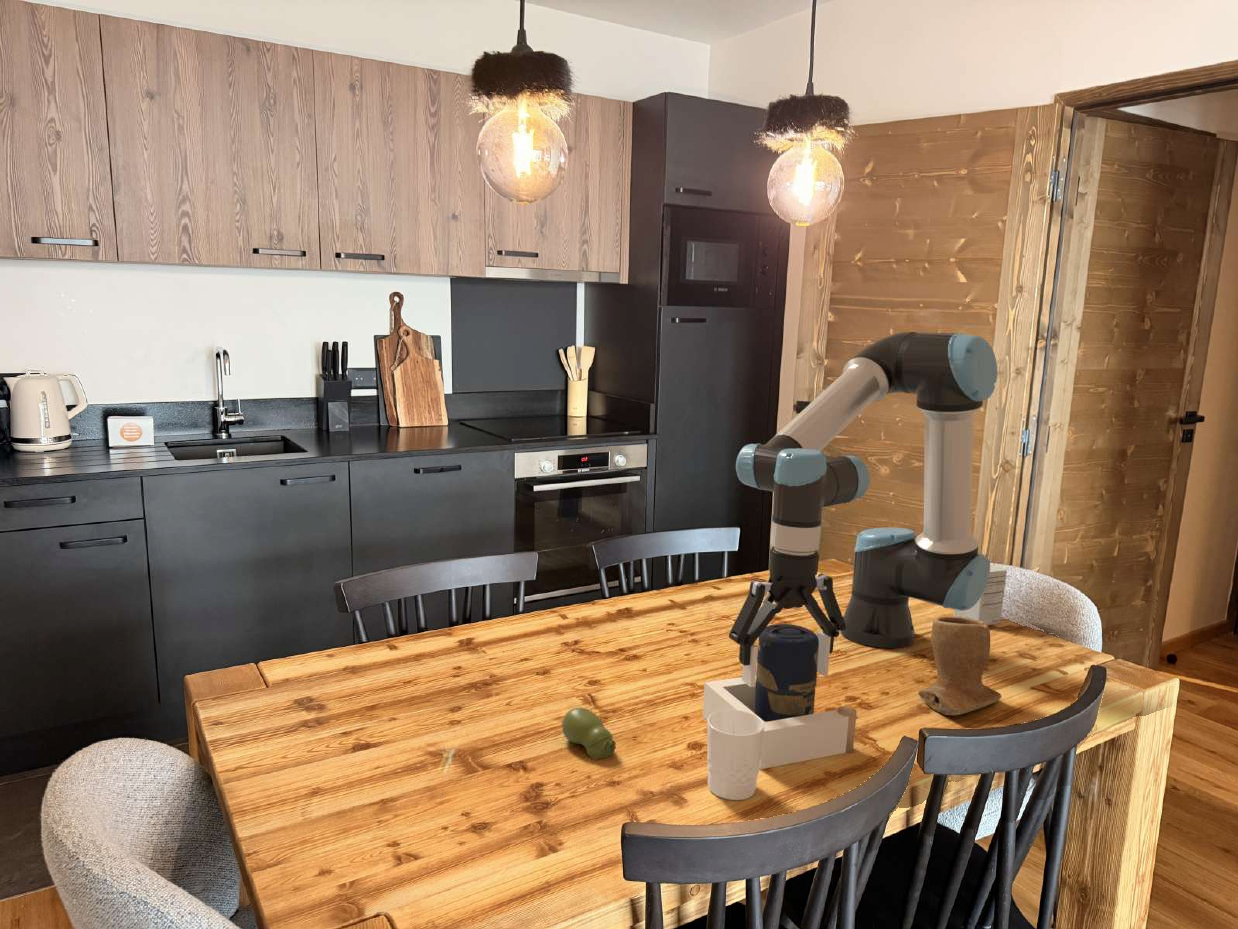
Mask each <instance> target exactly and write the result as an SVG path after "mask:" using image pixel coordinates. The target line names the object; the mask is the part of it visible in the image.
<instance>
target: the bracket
mask: <svg viewBox="0 0 1238 929" xmlns="http://www.w3.org/2000/svg"><path fill="white" fill-rule="evenodd" d="M755 684H756V677H755ZM702 700H703V701H702V702H703V703H702V704H703V706H702V717H703V718H704V719H705V720H706V721H707V722H708V717H709V716H710V715H711V714H712V713H714V712H716V711H720V710H741V711H746V712H749V713H752V714H754V715H756V714H755V687H750V686H749V685H747V684H746V683H745V682H743V681H742V676H739V677H734V678H733V677H732V678H726V679H725V678H724V679H718V680H712V681H707V682H704V686H703V699H702ZM756 716H757V715H756ZM759 718H760V717H759ZM760 719H761V718H760ZM762 721H763V720H762ZM763 722H764V721H763ZM856 722H857V709H856V708H854V707H852V706H848V705H841V706H838V708H837V709H834V710H828V711H824V712H823V711H822V712H817V713H814V714H810V715H804V716H798V717H792V718H786V719H781V720H775V721H769V722H764V734H763V742H762V751H761V758H760V765H759V770H764V769H769V768H774V767H779V766H785V765H791V764H795V763H796V764H797V763H800V762H805V761H810V760H811V761H812V760H816V759H821V758H826V757H832V756H836V755H842V754H849V753H850V754H851V753H852V752H853V751H854V744H855V743H854V742H855V732H856V725H857V724H856Z"/></svg>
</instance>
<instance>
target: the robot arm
mask: <svg viewBox="0 0 1238 929" xmlns="http://www.w3.org/2000/svg"><path fill="white" fill-rule="evenodd" d="M997 365H998V363H997V358H996V355H995V351H994V350H993V347H992V346H991V345H990V343H989V342H988V341H987V340H986V339H985V338H984V337H981V336H978V335H973V334H972V335H971V334H965V333H961V332H960V333H954V332H953V333H950V332H916V331H905V332H898V333H895V334H892V335H889V336H885V337H883V338H881V339H880V340H877V341H874V343H872V344H870V345H869V346H866V347H865V348H864V349H861V350H860V351H859V352H857V353H856V354H855V355H854V356H853V357H852V358H851V359H849V360H848V362H846V363H845V365H844V367H843V369H842V373H841V375H840V376H839V377H837V379H835V380H834V381H833V382H832V383H830V385H828V387H827V388H826V389H824V390H823V391H822V392H821V393H820V394H819V395H818V396H817V397H816V398H815V399H813V400H812V401H811V403H808V405H807V406H806V407H805V408H804V409H802V410H801V411H800V412H799V413H798V414H797V415H796V416H795V417H794V418H793V419H792V420H790V421H789V422H788V423H787V424H786V425H785V426H784V427H783V428H782V429H781V430H779V431H778V433H776V434H775V435H774V436H773V437H772V438H771V439H770V440H769V441H767V443H765V444H762V443H750V444H746V445H744V446H743V447H742V448H741V450H740V451H739V453H738V454H737V457H736V461H735V471H736V475H737V478H738V480H739V481H740V482H741V483H742V484H743V485H746V486H749V487H751V488H755V489H758V490H760V491H762V490H763V491H769V492H773V504H772V505H773V509H772V519H771V532H770V545H771V546H772V547H771V548H770V550H769V559H768V571H769V577H768V581H767V582H761V581H758V580H757V579H752V580H751V581H750V585H749V589H748V590H749V592H748V594H747V596H746V599H745V600H744V603H743V605H742V607H741V609H740V611H739V613H738V615H737V618H736V619H735V621H734V623H733V625H732V627H731V630H730V632H729V634H728V638H729V639H730V640H732V641H733V642H734V643H736V644H737V645H739V651H738V652H739V656H738V660H739V663H740V664H741V665H742V673H741V677H742V681H743V682H745V683H746V684H747V685H749V686H750V687H755V677H756V672H757V656H758V645H756V644H755V643H756V641H757V640H759V636H760V635H761V633H762V632H763V631H764V629H765V628H766V627H767V626H769V624H770V623H771V621H772V620H773V619H774V618H775V616H776V615H777V614H779V613H781V612H782V610H783V609H785V610H790V609H792V608H798V609H799V608H803V606H804V607H805V610H807V612H808V613H809V614H810V615H811V617H812V619H813V620H814V621H815V622H816V624H817V625H818V626H819V628H820V629H821V630H822V631H821V630H820V631H819V630H818V631H816V635H817V637H818V640H819V650H818V665H817V673H819V674H820V675H822V676H824V677H825V676H828V675H829V674H828V673H829V664H830V654H832V653H833V651H834V641H835V638H838V637H839V636H840V634H841V635H842V636H843V637H844V638H846V639H848V640H850V641H852V642H854V643H856V644H857V643H858V644H860V645H863V646H868V647H874V648H881V649H882V648H883V649H885V648H886V649H897V648H903V647H907V646H910V645H912V644H913V642H914V639H915V628H914V625H913V618H912V614H911V610H910V605H909V599H910V598H912V599H915V600H918V601H921V602H925V603H929V604H932V605H937V606H940V607H943V608H944V609H952V610H954V609H956V610H960V611H965V610H968V609H970V608H972V607H973V606H974V605H975V604H976V603H977V602H978V600H979V599H980V597H981V596H982V594H983V592H984V590H985V587H986V585H987V582H988V578H989V573H990V565H991V562H990V559H989V557H987V555H985V554H983V553H980V554H979V540H978V539H977V538H976V537H975V536H974V535H973V534H972V533H971V527H972V526H971V522H972V520H971V519H972V518H971V517H972V516H971V515H972V490H973V489H972V487H973V486H972V485H973V484H972V483H973V477H972V476H973V449H974V448H973V445H974V421H975V420H974V416H975V415H976V413H978V412H979V411H980V410H981V409H982V408H983V407H984V406H983V405H984V404H983V403H984V401H987V400H988V399H989V398H991V396H992V395H993V393H994V391H995V388H996V386H995V384H996V383H997V378H998V366H997ZM895 393H903V394H904V393H905V394H912V395H916V409H917V410H919V411H920V412H921V413H922V414H924V452H923V453H924V456H923V457H924V464H923V466H924V467H923V470H924V471H923V477H924V478H923V531H922V532H921V533H920V534H918V535H917V536H916V532H915V531H914V530H912V529H909V528H904V527H903V528H901V527H875V528H867V529H864V530H862V531H860V532H859V533H858V534H857V537H856V543H855V548H854V549H853V552H854V559H853V570H852V572H853V574H852V586H851V596H850V599H849V601H848V604H847V606H846V609H845V611H844V614H842V611H841V609H840V606H839V603H838V601H837V598H836V597H837V596H836V594H835V592H834V580H833V579H834V578H832V577H830V576H829V575H827V574H824V573H823V572H822V573H819V574H818V570H819V560H820V554H819V552H818V551H819V549H820V547H821V535H822V516H823V508H825V507H826V508H827V507H830V506H835V505H841V504H847V503H848V504H849V503H850V502H853V501H855V500H858V499H860V498H862V497H863V496H864V495H865V494H866V493H867V491H868V489H869V487H870V482H871V476H870V471H869V468H868V466H867V464H866V463H865V462H864V461H863V460H862V459H860V458H859V457H857V456H854V455H843V454H841V455H837V456H830V455H825V453H824V452H822V451H823V450H824V448H826V447H827V446H828V445H829V444H830V443H831V442H832V441H833V440H834V439H835V438H836V437H837V436H838V435H839V434H840V433H841V432H842V431H843V430H844V429H845V428H847V426H849V425H850V424H851V422H853V420H855V419H856V418H857V417H858V416H859V415H860V414H861V413H862V412H863V411H864V410H865V409H866V408H867V407H868V406H869V405H870V404H871V403H877V402H880V401H881V400H883V399H884V398H885V397H886V396H887V395H890V394H895ZM816 589H818V593H819V596H820V599H821V601H822V604H823V606H824V609H825V612H826V614H825V612H824V611H823V610H822V608H821V607H820V605H819V603H818V601H817V600H816V598H815V596H813V593H814V592H815V590H816ZM774 602H775V603H774Z"/></svg>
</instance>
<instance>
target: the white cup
mask: <svg viewBox="0 0 1238 929" xmlns="http://www.w3.org/2000/svg"><path fill="white" fill-rule="evenodd" d="M706 730H707V736H706V738H707V741H706V742H707V745H706V746H707V747H706V753H707V754H706V757H707V760H706V762H707V764H706V765H707V766H706V768H707V787H708V789H709V791H710V792H711V793H712V794H713V795H715V796H717V797H718V798H721V799H725V800H730V801H742V800H747V799H750V798H751V797H753V796H754V794H755V792H756V789H757V784H758V782H757V781H758V775H759V773H760V772H759V771H760V769H759V765H760V758H761V751H762V742H763V734H764V722H763V721H762V719H760V718H759V717H758V716H756V715H754V714H752V713H749V712H746V711H741V710H720V711H716V712H714V713H712V714H711V715H710V716H709V717H708V721H707V729H706Z"/></svg>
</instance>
